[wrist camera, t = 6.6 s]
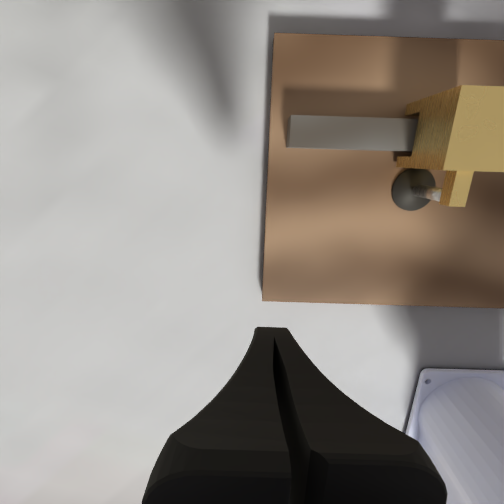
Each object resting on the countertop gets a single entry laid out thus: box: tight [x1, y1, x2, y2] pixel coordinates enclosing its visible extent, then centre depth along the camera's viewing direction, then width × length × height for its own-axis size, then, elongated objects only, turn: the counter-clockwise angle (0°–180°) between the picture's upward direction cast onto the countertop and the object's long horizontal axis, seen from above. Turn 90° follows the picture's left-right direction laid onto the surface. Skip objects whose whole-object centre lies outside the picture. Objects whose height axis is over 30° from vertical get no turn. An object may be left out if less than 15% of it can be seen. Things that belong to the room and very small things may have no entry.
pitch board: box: [262, 33, 504, 308], centre depth 16 cm, size 16×21×7 cm
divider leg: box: [396, 85, 504, 207], centre depth 15 cm, size 5×3×5 cm, turn 179°
